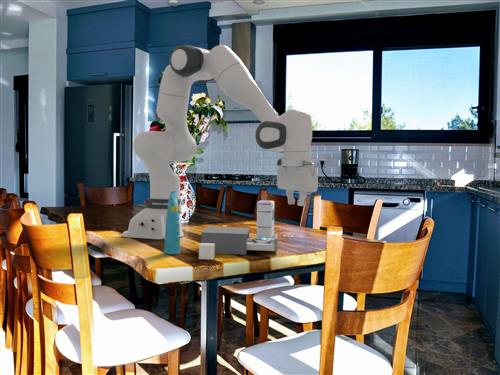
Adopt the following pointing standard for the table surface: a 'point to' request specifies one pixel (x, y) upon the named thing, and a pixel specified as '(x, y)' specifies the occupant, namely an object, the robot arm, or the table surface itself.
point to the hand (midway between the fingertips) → (296, 204)
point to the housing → (226, 239)
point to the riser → (207, 251)
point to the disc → (261, 240)
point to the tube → (172, 226)
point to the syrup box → (265, 219)
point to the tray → (263, 245)
